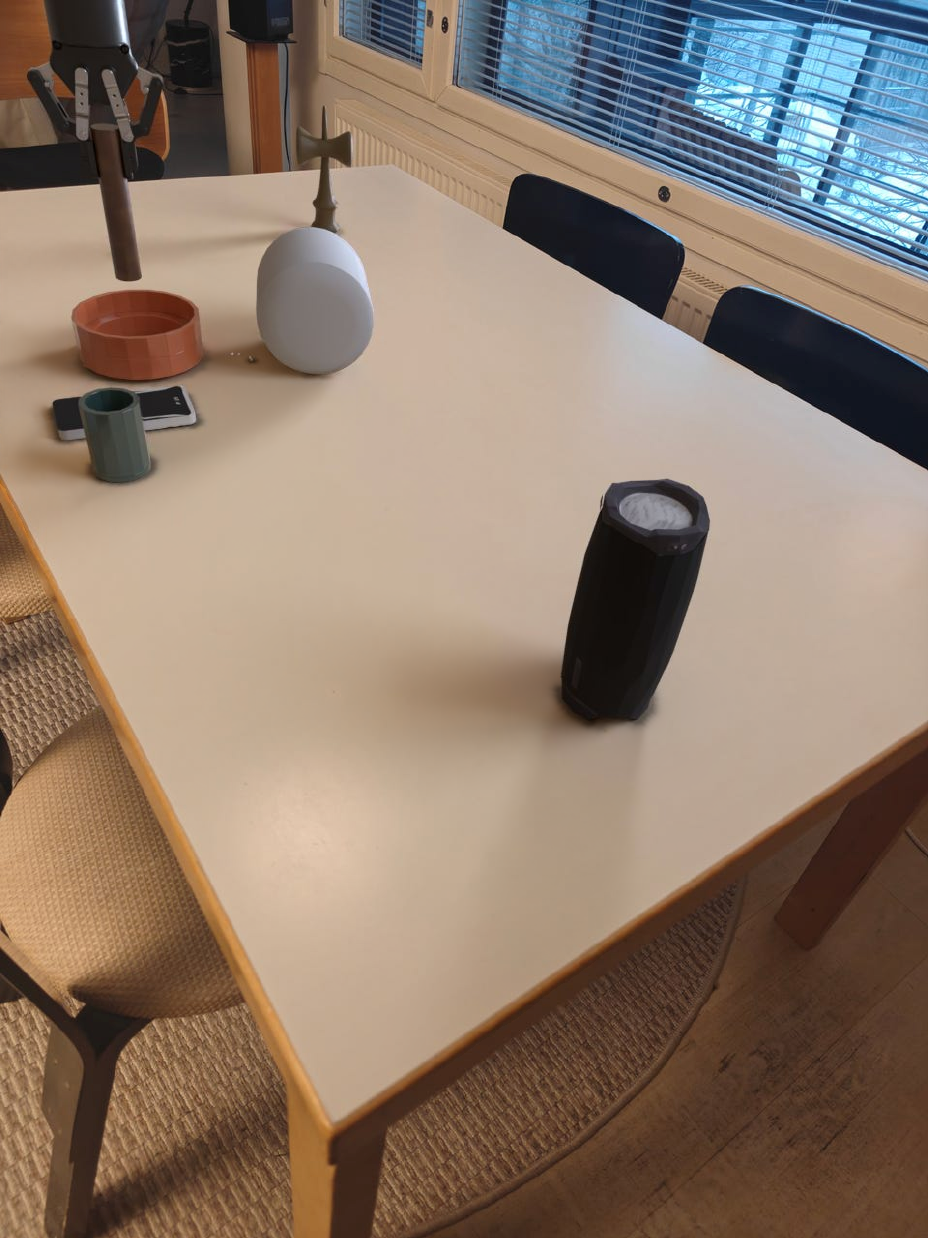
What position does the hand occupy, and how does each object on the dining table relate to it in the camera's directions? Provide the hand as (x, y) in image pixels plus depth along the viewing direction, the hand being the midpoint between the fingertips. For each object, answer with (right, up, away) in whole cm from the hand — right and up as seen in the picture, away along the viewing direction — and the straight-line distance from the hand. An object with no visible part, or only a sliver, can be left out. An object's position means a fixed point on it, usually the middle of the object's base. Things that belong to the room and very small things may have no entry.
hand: (112, 175), depth 95 cm
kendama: (+14, +21, +61) cm, 66 cm away
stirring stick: (-1, -8, +7) cm, 11 cm away
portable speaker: (+51, -56, -21) cm, 79 cm away
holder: (+2, -33, -2) cm, 33 cm away
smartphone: (-1, -26, +6) cm, 26 cm away
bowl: (-3, -15, +17) cm, 23 cm away
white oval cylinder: (+16, -10, +25) cm, 32 cm away
